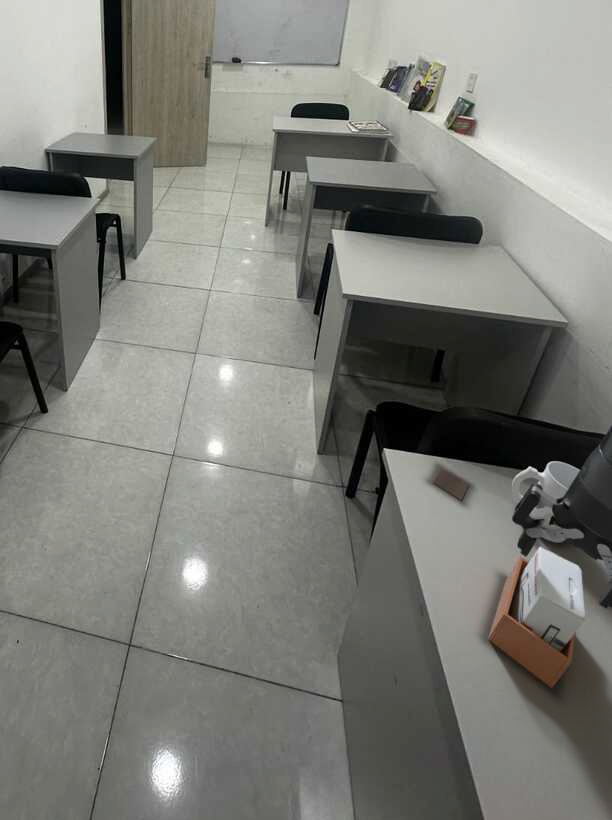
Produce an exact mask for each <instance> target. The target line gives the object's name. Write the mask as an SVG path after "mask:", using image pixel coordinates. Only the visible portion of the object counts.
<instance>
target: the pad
mask: <svg viewBox="0 0 612 820" xmlns="http://www.w3.org/2000/svg"><path fill="white" fill-rule="evenodd" d="M432 484H434V485H435V486H436V487H438V488H440V489H442V490H443V491H444V492H446V493H448V494H449V495H451V496H453V497H455V498H456V500H459V501H460V502H462V501H463V498H464V497H465V494H466V492H467V490H468V487H470V484H469V483H468V482H466V481H465V480H463V479H461V478H459V477H458V476H456V475H455V474H453V473H451V472H450V471H448V470H446V469H445V468H443V467H440V468H439V470H438V471H437V474H436V475H435V477H434V479H433V481H432Z"/></svg>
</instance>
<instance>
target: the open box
mask: <svg viewBox="0 0 612 820" xmlns="http://www.w3.org/2000/svg"><path fill="white" fill-rule="evenodd" d="M529 562H530V560H527V559H525V557H523V556H521V555H520V556H519V557H518V559H517V561H516V562H515V565H514V566H513V568H512V570H511V571H510V573H509V574H508V576H507V577H506V580H505V582H504V585H503V589H502V592H501V595H500V598H499V602H498V605H497V608H496V611H495V615H494V618H493V621H492V622H493V623H492V625H491V628H490V631H489V635H488V637H487V638H488V639H487V640H488V641H489V642H491V643H492V644H494V645H495V646H496V647H498V648H499V649H500V650H501V651H503V652H504V653H505V654H507V655H508V656H509V657H511V658H512V659H513V660H514V661H516V662H517V663H518V664H520V665H521V666H522V667H524V668H525V669H526V670H527V671H529V672H530V673H532V675H535V677H537V678H538V679H539V680H540V681H542V682H543V683H545V684H546V685H547V686H548V687H550V688H551V689H552V688H553V687H554V686H555V685H556V684H557V682H558V681H559V680H560V679H561V678H562V676H563V674H564V673H565V672H566V670H567V669H568V668H569V667H570V666H571V664H572V661H573V653H574V647H575V643H576V642H575V641H576V634H577V631H576V632H575V634H574V635H573V636H572V638H571V639H570V640H569V641H568V643H567V644H566V645H565V646H564V648H563V649H562V650H561V652H559V651H558V650H556V649H555V648H554V647H552V646H551V645H549V644H548V643H547V642H545V641H544V640H543V639H541V638H540V637H538V636H537V635H536V634H534V633H533V632H531V631H530V630H529V629H527V628H526V627H525V626H523V625H522V624H520V623H519V622H518V621H516V620H515V619H513V618H512V617H511V616H509V615H508V611H509V607H510V604H511V600H512V597H513V593H514V590H515V586H516V583H517V580H518V579H519V577H520V576H521V574H522V573H523V571H524V569H525V568H526V566H527V565H528V563H529Z"/></svg>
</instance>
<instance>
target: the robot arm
mask: <svg viewBox="0 0 612 820" xmlns="http://www.w3.org/2000/svg"><path fill="white" fill-rule="evenodd" d="M579 470H580V471H579V473H578V474H577V476H576V477H575V479H574V481H573V482H572V484H571V485H570V487H569V489H568V490H567V492H566V493H565V495H564V496H563V497H562V498H559V499H554V498H553V497H551V496H549V495H548V494H546V493H545V492H543V488H542V486H541V485H539V484H538V482H533V483H532V484H531V485H530V487H528V489H527V491H526V492H525V493H524V495H522V496H523V497H522V499H521V500H520V502H519V503H518V504H517V503H516V506H515V508H514V512H513V515H512V517H511V520H512V522H513V523H514V524H516V525H518V526H521V527H522V528H523V531H522V532H521V534H520V536H519V537H518V540H517V548H518V549H520V552H519V554H520V555H522V556H524V558H527V557H528V555H529V554H530V552H531V550H532V549H533V548H534V546H535V544H536V543H537V540H538V538H543V537H548V538H549V539H559V538H565V542H566V543H567V544H568V545H570V546H572V547H574V548H576V549H578V550H581V551H582V552H583V553H585V554H586V555H587V556H588V557H590V558H592V559H593V560H595V561H598V560H599V561H602V562H603V564H604V566H605V568H606V571H607V574H608V576H609V577H610V579H609V581H608V582H607V583H606V585H605V586H604V587H603V588H602V589H601V591H600V593H599V597H598V598H599V599H598V605H599V606H601V607H602V608H604V609H606V610H607V609H608V608H609V607H610V608H611V609H612V425H611V426H610V427H609V428H608V430H607V431H606V433H605V435H604V437H603V438H602V440H601V441H600V443H599V444H598V445H597V447H596V448H595V449H594V450H593V451H592V452H591V453H590V454H589V455H588V456H587V458H586V460H585V462H584V463H583V465H582V466H581V468H580V469H579ZM546 506H547V507H550V508H552V512H553V513H551V514H546V515H545V516H543V517H533V518H532V517H530V516H529V515H530V513H531V512H532V511H533V509H534V508H535V507H536V508H537V509H540V508H544V507H546ZM557 526H558V527H557Z"/></svg>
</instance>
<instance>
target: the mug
mask: <svg viewBox="0 0 612 820" xmlns="http://www.w3.org/2000/svg"><path fill="white" fill-rule="evenodd" d="M579 471H580V469H579V468H576V467H575V466H573V465H571V464H568V463H565V462H562V461H554V460H553V461H549V462H548V463H547V464H546V466H545V469H544V471H543V472H539V471H538V469H537V468H534V467H532V466H528V467H527V468H526V469H524V470H522V471H520V472H519V473H517V474H516V475H515V476H514V478H513V480H512V483H511V490H512V497H513V501H514V503H515V504H516V505H517V504H518V503H519V502H520V500H521V499H522V497H523V496H524V495H522V493H521V492H520V486H521V484H522V482H524V480H526V479H535V480H537V481H538V482H537V484H539V485H541V486H542V488H543V492H545V493H546V494H548V495H549V496H551V497H553V498H554V499H559V498H562V497H563V496H564V495H565V493H566V492H567V490H568V489H569V487H570V485H571V484H572V482H573V481H574V479H575V477H576V476H577V474H578V473H579ZM551 513H553V512H552V508H550V507H547V506H546V507H544V508H540V509H537V508H536V507H535V508H534V509H533V511H532V512H531V513H530V515H529V516H530V517H532V518H533V517H543V516H545V515H546V514H551ZM557 527H558V526H557ZM542 539H544V540H547V541H549V542H552V543H563V542H564V541H566V539H565V538H559V539H549V538H548V537H542Z"/></svg>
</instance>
